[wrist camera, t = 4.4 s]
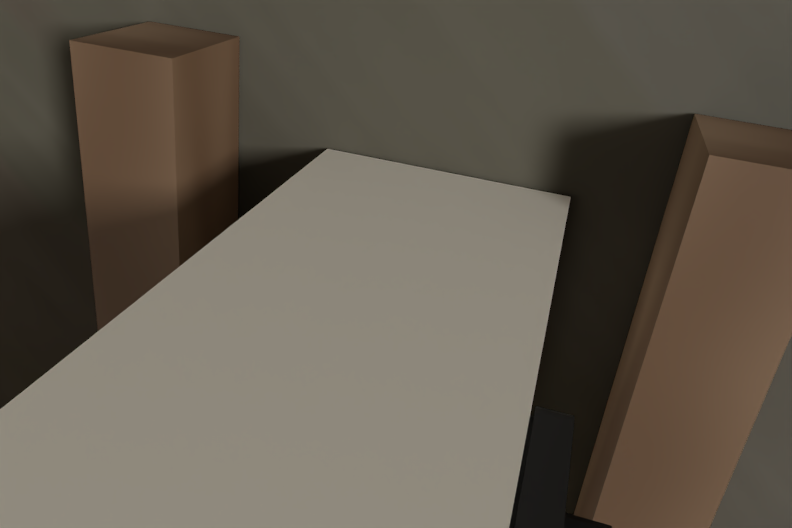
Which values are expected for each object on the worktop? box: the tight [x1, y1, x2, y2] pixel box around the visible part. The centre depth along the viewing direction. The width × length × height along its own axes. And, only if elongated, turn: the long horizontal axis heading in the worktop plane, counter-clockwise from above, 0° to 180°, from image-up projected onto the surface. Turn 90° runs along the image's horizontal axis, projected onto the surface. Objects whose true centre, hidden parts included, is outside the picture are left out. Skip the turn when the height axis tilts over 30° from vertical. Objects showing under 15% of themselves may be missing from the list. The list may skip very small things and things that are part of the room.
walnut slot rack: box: [69, 22, 792, 528], centre depth 13 cm, size 10×11×2 cm
